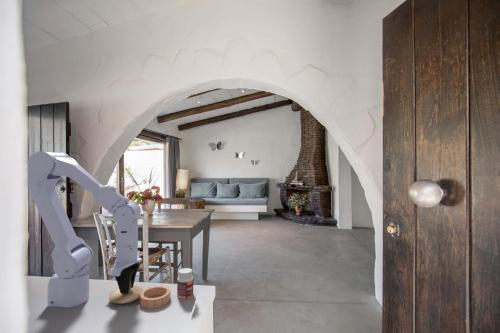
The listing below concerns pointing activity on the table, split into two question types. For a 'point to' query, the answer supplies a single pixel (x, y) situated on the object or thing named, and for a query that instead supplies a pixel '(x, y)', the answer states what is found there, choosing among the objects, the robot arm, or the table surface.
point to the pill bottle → (185, 283)
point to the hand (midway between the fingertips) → (126, 290)
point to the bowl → (154, 302)
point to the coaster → (133, 303)
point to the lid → (125, 295)
